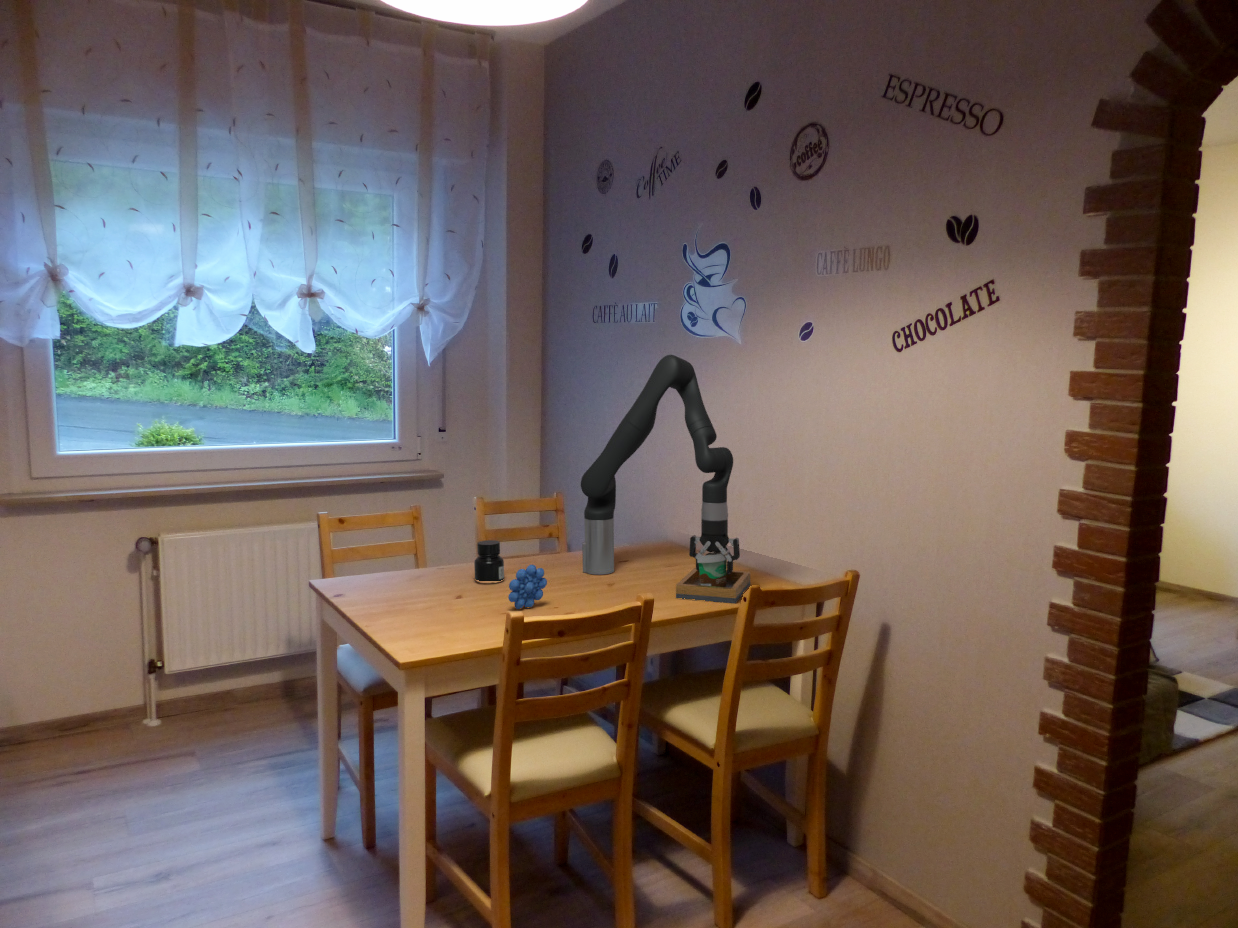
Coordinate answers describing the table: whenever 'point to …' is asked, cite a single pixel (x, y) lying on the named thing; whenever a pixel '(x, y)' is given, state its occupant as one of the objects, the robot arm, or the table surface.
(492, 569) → the ink bottle
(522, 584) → the grapes
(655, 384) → the robot arm
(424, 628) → the table surface
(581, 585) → the table surface
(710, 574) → the food container
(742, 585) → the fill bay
